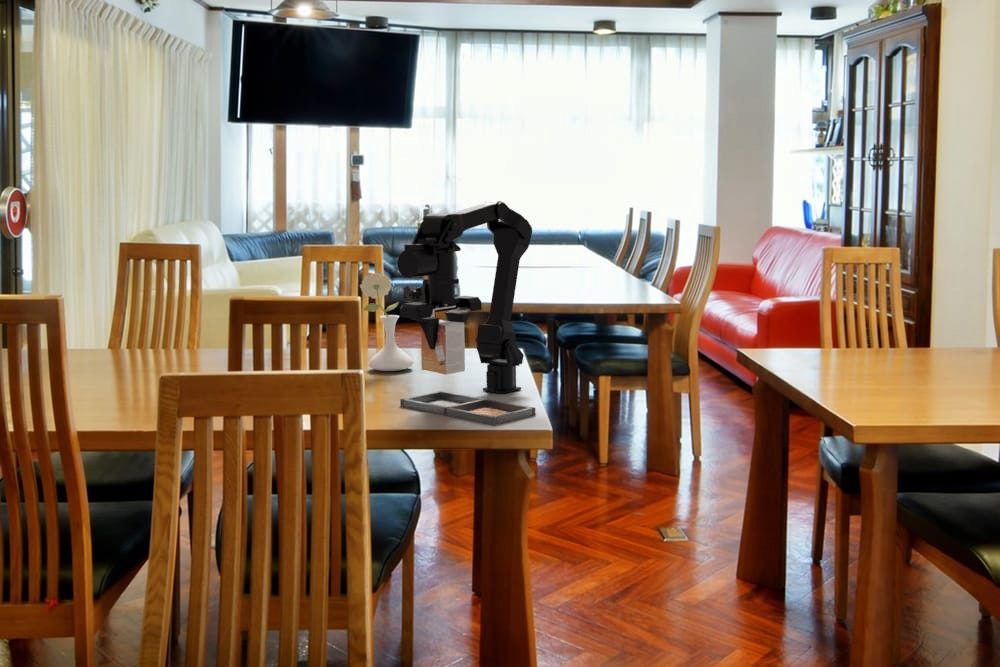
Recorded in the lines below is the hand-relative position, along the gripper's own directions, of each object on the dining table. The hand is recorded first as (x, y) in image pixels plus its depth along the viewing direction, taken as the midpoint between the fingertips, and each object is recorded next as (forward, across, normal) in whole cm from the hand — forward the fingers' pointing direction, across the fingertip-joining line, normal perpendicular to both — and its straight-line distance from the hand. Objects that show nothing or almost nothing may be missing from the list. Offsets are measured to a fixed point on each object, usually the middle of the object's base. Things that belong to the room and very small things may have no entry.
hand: (442, 347), depth 229 cm
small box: (+5, 0, 0) cm, 5 cm away
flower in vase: (+13, -21, -43) cm, 50 cm away
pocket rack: (+13, 0, +7) cm, 14 cm away
